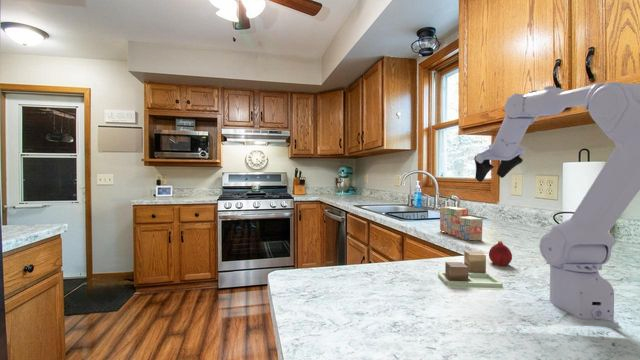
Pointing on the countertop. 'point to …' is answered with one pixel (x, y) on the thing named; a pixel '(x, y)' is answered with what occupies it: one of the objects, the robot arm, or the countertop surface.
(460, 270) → the walnut block
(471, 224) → the stack of blocks
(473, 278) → the base plate
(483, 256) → the two tone block
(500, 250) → the onion
